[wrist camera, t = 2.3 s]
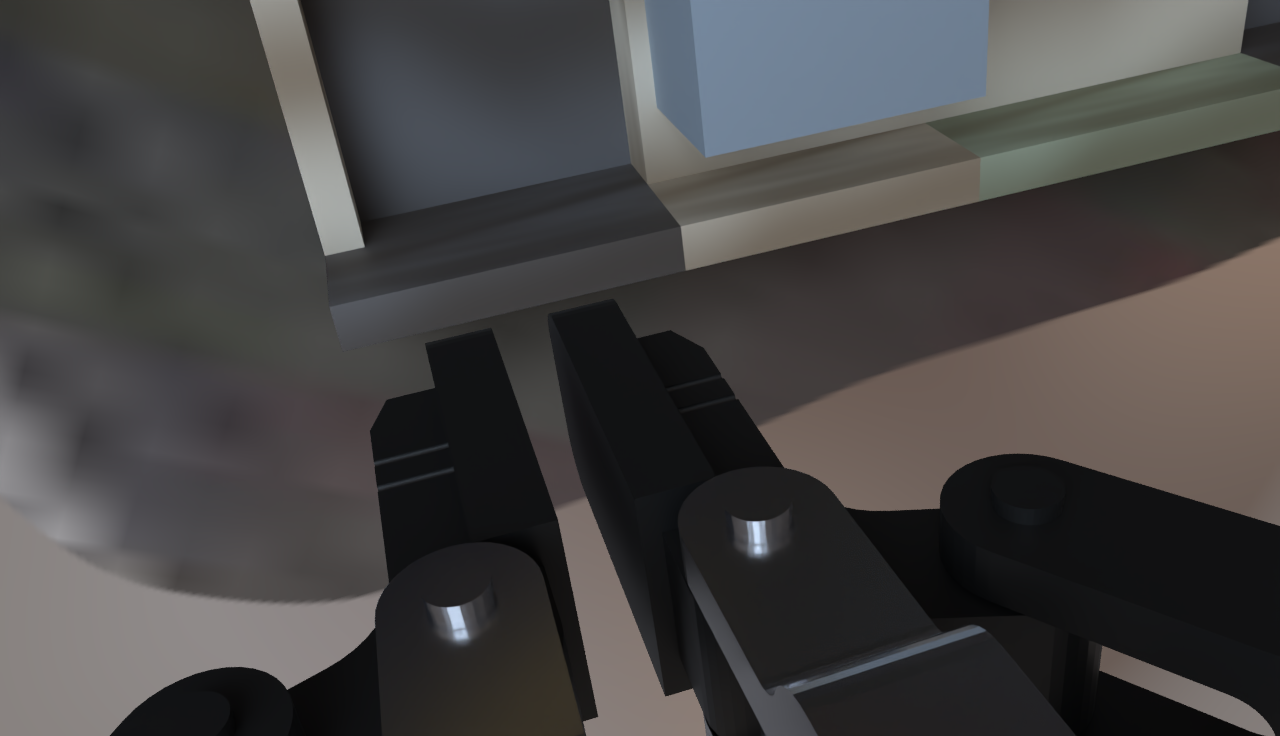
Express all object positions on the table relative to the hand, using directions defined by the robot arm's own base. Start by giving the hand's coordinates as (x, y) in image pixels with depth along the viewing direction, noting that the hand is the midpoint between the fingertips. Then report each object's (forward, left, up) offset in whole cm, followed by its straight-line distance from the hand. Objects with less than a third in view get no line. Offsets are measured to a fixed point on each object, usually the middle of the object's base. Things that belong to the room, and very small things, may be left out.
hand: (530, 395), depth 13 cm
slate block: (0, +10, -17) cm, 19 cm away
